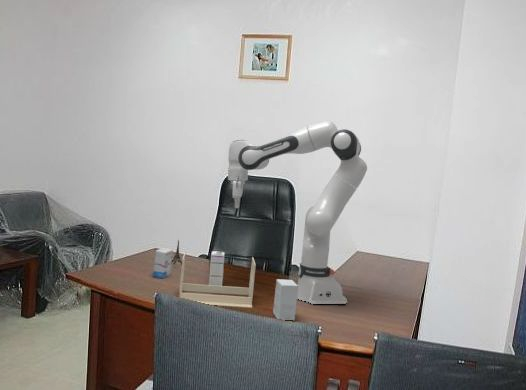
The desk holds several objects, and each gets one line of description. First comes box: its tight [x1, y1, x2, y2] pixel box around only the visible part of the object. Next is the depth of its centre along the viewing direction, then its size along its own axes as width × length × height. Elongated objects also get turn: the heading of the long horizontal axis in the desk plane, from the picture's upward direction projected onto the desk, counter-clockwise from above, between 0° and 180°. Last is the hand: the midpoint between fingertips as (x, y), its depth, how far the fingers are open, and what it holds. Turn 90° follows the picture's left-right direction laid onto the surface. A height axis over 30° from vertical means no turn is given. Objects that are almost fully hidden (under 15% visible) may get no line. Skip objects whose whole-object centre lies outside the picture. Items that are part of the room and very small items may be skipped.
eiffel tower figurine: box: [172, 239, 182, 269], centre depth 233 cm, size 15×10×13 cm
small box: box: [272, 278, 298, 322], centre depth 172 cm, size 8×6×13 cm
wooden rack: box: [178, 251, 257, 309], centre depth 186 cm, size 28×19×16 cm
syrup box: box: [208, 250, 226, 286], centre depth 202 cm, size 6×6×14 cm
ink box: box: [153, 247, 174, 279], centre depth 209 cm, size 8×5×12 cm, turn 168°
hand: (237, 207), depth 210 cm, fingers open, 8 cm apart
